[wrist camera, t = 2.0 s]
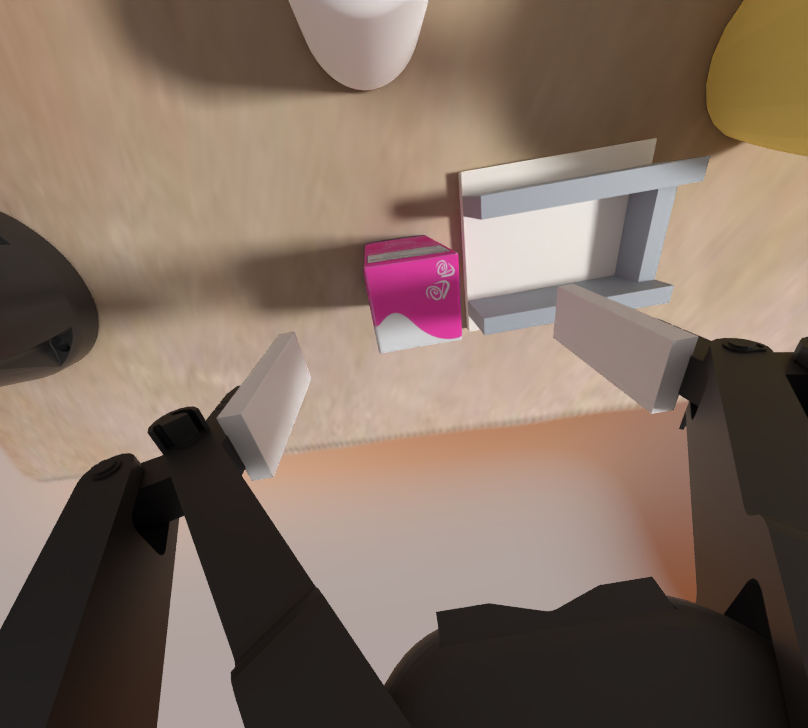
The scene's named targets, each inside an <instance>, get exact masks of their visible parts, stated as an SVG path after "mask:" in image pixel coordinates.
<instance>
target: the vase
mask: <svg viewBox="0 0 808 728" xmlns="http://www.w3.org/2000/svg"><path fill="white" fill-rule="evenodd" d="M706 100H707V110H708V112H709V115H710V117H711V120H712V122H713V125H714V126H715V127H716V128H718V129H719V130H720V131H721V132H722V133H723V134H724V135H726V136H728V137H731V138H734V139H737V140H740V141H743V142H747V143H750V144H753V145H757V146H761V147H765V148H769V149H773V150H778V151H782V152H787V153H792V154H798V155H803V156H808V0H743V2H742V3H741V5H740V6H739V8H738V9H737V11H736V12H735V14H734V15H733V17H732V18H731V20H730V21H729V23H728V24H727V26H726V27H725V29H724V31H723V34H722V36H721V38H720V41H719V43H718V45H717V47H716V50H715V52H714V54H713V56H712V60H711V65H710V69H709V74H708V78H707V83H706Z"/></svg>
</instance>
